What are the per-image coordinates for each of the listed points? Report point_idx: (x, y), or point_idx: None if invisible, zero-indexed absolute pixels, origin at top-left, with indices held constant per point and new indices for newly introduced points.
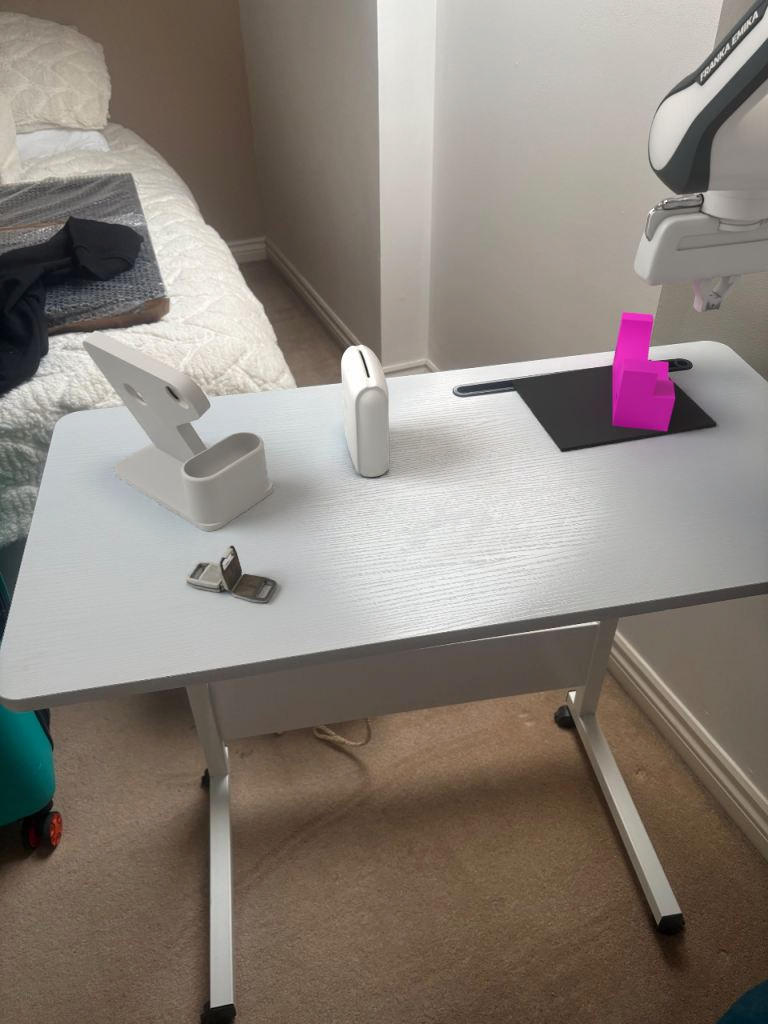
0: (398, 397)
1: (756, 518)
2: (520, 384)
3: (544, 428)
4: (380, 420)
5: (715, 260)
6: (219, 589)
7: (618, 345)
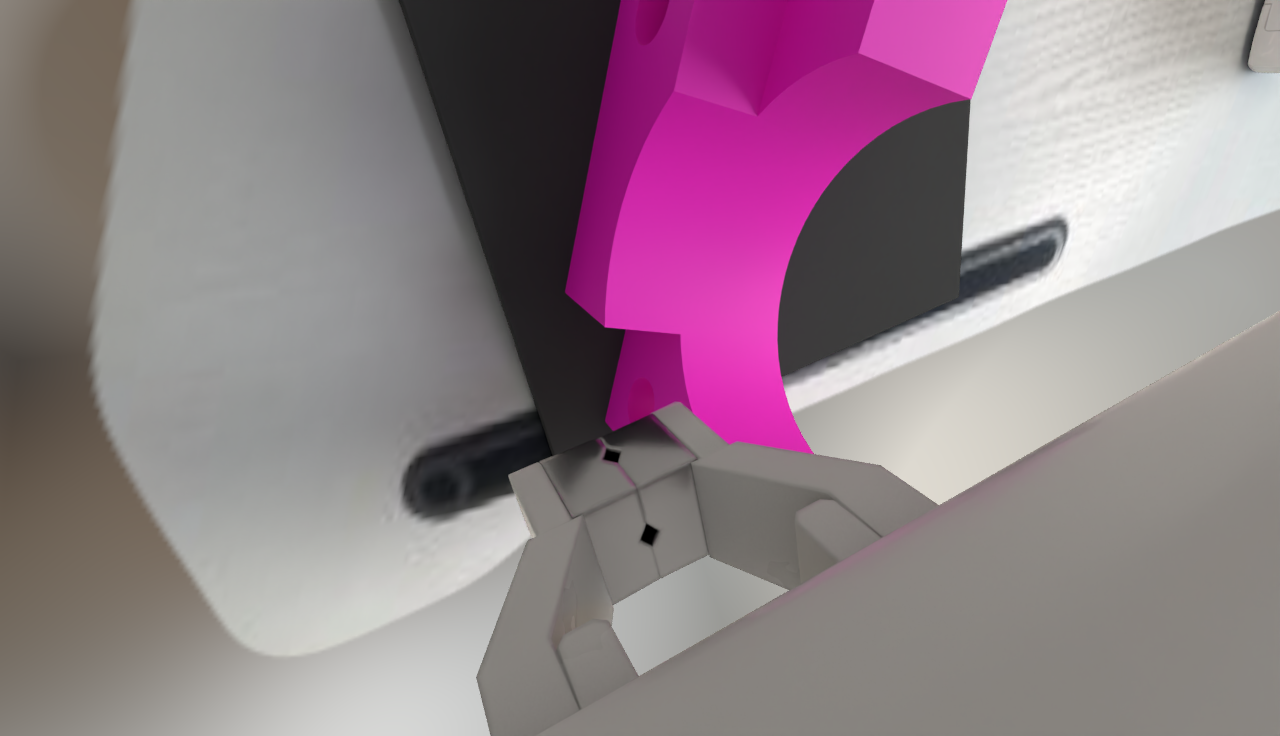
0: (1153, 212)
1: None
2: (948, 275)
3: None
4: None
5: (1196, 681)
6: None
7: (781, 395)
